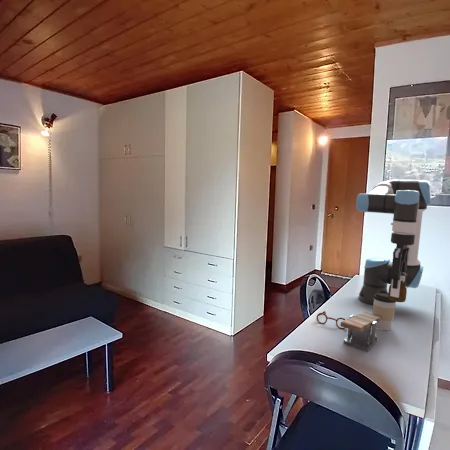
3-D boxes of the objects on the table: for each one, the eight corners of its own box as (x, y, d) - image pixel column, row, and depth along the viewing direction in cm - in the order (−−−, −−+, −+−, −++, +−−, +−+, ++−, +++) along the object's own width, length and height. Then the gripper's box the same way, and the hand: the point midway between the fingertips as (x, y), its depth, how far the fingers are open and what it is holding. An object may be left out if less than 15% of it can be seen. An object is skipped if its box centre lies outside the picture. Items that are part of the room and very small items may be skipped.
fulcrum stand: (353, 333, 135) (355, 311, 134) (377, 341, 129) (380, 318, 128) (342, 343, 126) (344, 319, 125) (368, 352, 120) (370, 327, 119)
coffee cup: (396, 332, 138) (400, 298, 136) (373, 329, 139) (376, 295, 138) (390, 323, 146) (393, 291, 145) (368, 321, 148) (371, 289, 146)
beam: (364, 314, 140) (364, 311, 139) (381, 319, 135) (382, 315, 135) (340, 326, 118) (340, 321, 118) (360, 332, 114) (360, 327, 113)
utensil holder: (395, 303, 118) (399, 270, 117) (383, 297, 124) (386, 266, 123) (409, 302, 120) (413, 270, 118) (396, 296, 126) (400, 266, 124)
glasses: (315, 323, 145) (316, 312, 144) (324, 314, 156) (325, 304, 155) (346, 331, 138) (347, 320, 137) (353, 321, 148) (354, 310, 148)
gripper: (398, 229, 128) (392, 286, 131) (384, 234, 114) (378, 298, 117) (420, 231, 123) (413, 290, 127) (409, 237, 109) (401, 303, 112)
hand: (396, 294), depth 122 cm, fingers closed on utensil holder, 6 cm apart
